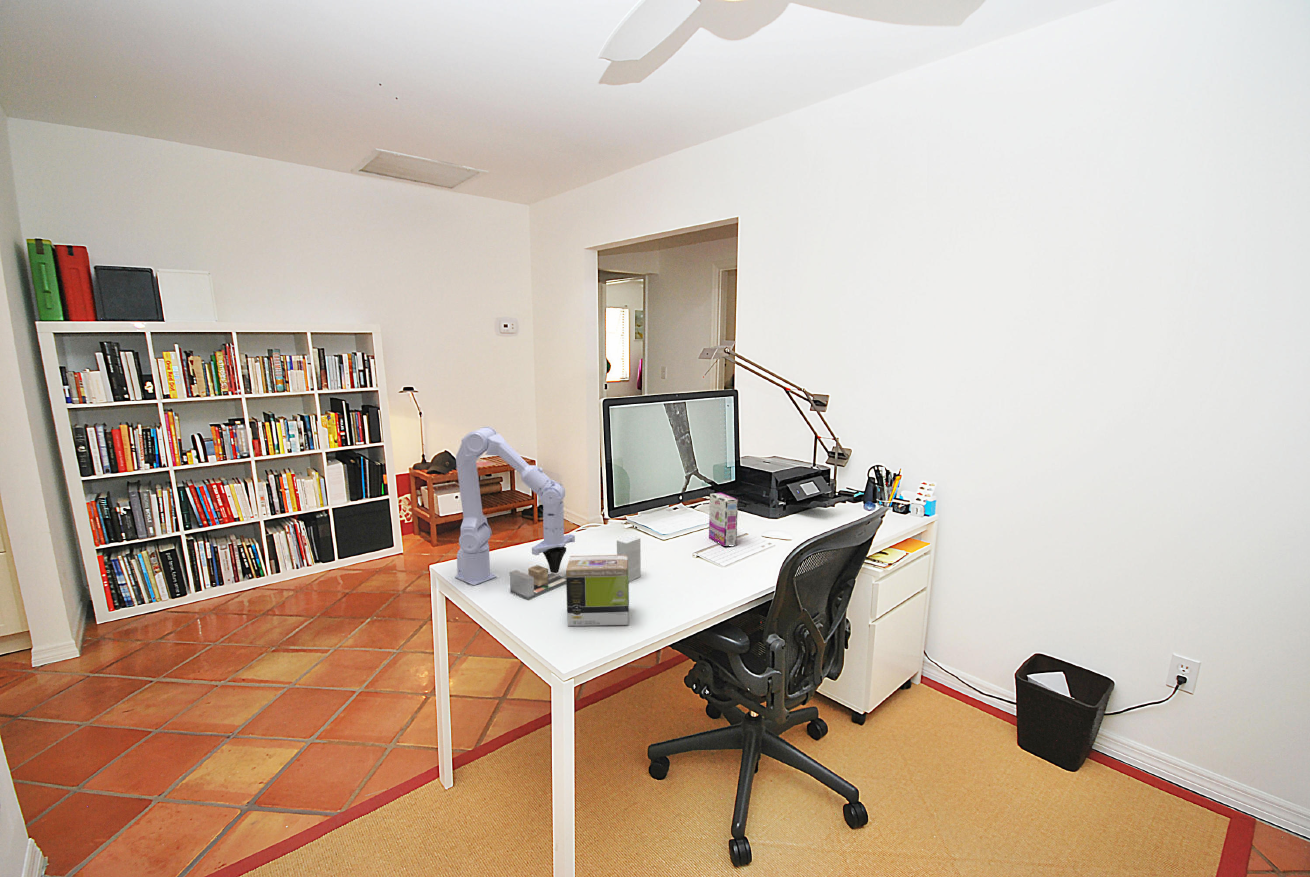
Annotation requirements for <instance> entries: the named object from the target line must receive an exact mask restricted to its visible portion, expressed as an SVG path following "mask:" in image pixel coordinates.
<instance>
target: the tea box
mask: <svg viewBox="0 0 1310 877" xmlns="http://www.w3.org/2000/svg"><path fill="white" fill-rule="evenodd" d="M565 578H566V584H565V587H566V588H565V589H566V592H565V594H566V614H567V615H566V617H567V626H568V627H572V626H573V627H576V626H580V627H582V626H583V627H584V626H585V627H586V626H629V625H630V624H629V621H630V618H629V614H630V613H629V612H630V592H629V591H630V588H629V587H630V585H629V584H630V583H629V576H628V555H617V554H602V555H600V554H599V555H597V554H596V555H570V556H569V558H568V563H567V566H566V569H565Z"/></svg>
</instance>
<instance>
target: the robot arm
mask: <svg viewBox="0 0 1310 877" xmlns="http://www.w3.org/2000/svg"><path fill="white" fill-rule="evenodd" d="M484 453H485V455H486V456H498V457H500V458H501V459H502V460H503V461H504V462H505V463H507V464H508V465H509V466H510V467H512V468H513V469H514V470H515V471H517V472H518V473H519V474H520V479H521V482H523V483H524V484H525V485H526V486H527V487H528V488H529V489H530V490H531V491H532V492H533V493H535V494H536V496H539V501H540V503H541V505H542V507H543V508H542V509H543V510H542V516H543V518H542V520H543V525H542V526H543V541H541V542H539V543H538V544H536V545H534V546H532V547H531V554H532V555H534V556H538V555H540V554H541V553H542V554H543V556H544V558H545V559H546V561H547V564H548V567H549V568H548V569H549V571H550V573H553V574H557V573H559V571H560V567H561V563H562V560H563V558H564V555H566V552H567V547H566V545H567V544H569V543H575V541H576V536H575V535H574V534H572V533H569V534H566V535H565V521H564V519H565V518H564V517H565V514H564V502H563V500H564V498H565V497H566V490H565V487H564V485H563V484H562V483H560V482H556V480H554V479H552V478H550V477H549V476H548V475H547V474H546V473H545V472H544V469H543V468H542V467H541V466H539V467H538V465H535V464H533V465H531V464H529V463H528V462H526V461H525V459H524V458H523V457H522V456H521V455H520V454H519V453H518V452H517V451H516V450H515V449H514V448H513V446H511V445H510V444H509V443H508V442H507V441H506V439H505V438H504V437H503V435H501V434H500V433H497V430H495V429H494V428H493V427H491V426H483V427H481V428H479V429H477V430H473V431H469V432H468V433H467V434H466V435H464V437H463V438H461V444H460V446H459V448H458V451H457V452H456V456H455V462H456V465H455V466H456V472H457V478H458V486H459V493H460V501H461V510H462V516H463V517H462V518H463V519H462V523H461V526H460V535H459V537H458V538H459V539H458V544H459V545H458V546H459V547H460V548H459V550H458V551H457V554H456V567H457V568H456V570H457V574H456V575H454V577H455V578H457V579H459V580H460V581H462V582H464V583H467V584H470V585H472V586H475V585H478V584H481V583H484V582H487V581H490V580H492V579H495V578H497V574H495V573H492V572H491V565H490V563H491V562H490V545H489V540H490V539H491V538H492V532H493V531H492V529H491V526H490V525H489V524H488V519H487V516H486V515H485V514H484V513H483V505H482V499H481V498H482V497H481V491H480V482H479V481H480V480H479V473H478V467H477V466H478V465H477V461H478V460H479V459H480V457H481V456H482V455H483V454H484Z"/></svg>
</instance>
